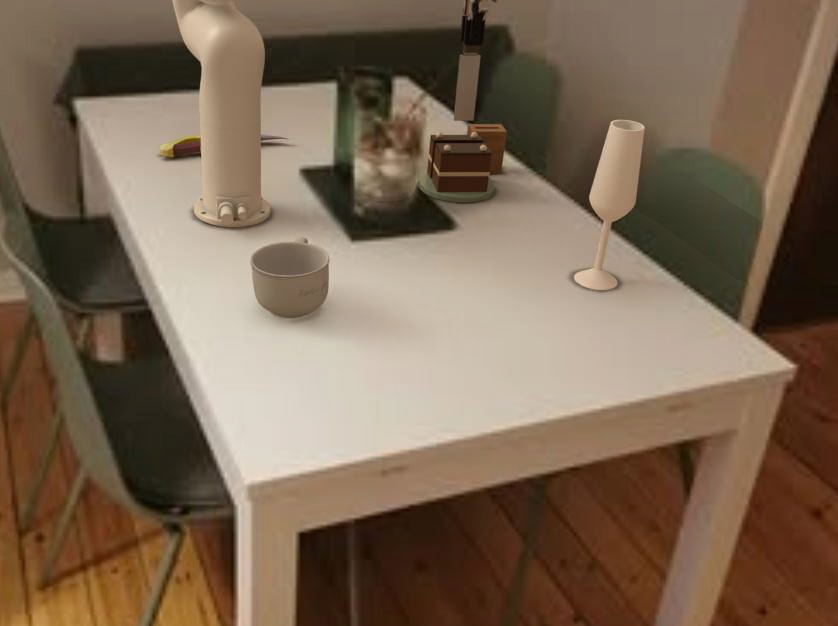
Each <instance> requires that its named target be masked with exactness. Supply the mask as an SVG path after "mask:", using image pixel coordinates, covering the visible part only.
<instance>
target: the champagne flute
mask: <svg viewBox="0 0 838 626" xmlns="http://www.w3.org/2000/svg"><path fill="white" fill-rule="evenodd" d="M644 136H645V125H644V124H642V123H640V122H638V121H636V120H635V121H634V120H630V119H615V120H612V121H610V123H609V127H608V131H607V134H606V137H605V141H604V144H603V148H602V151H601V153H600V157H599V161H598V165H597V168H596V171H595V175H594V178H593V182H592V185H591V189H590V192H589V195H588V198H589V199H588V201H589V203H590V207H591V208H592V209H593V211H594V212H595V214H596V215H597V216H598V217H599V218H600V219H601V220H602V221H603V222H602V228H601V233H600V237H599V243H598V247H597V252H596V257H595V262H594V267H592V268H588V269H584V270H580V271H578V272H576V273H575V274H574V276H573V279H574V281H575V282H576V283H577V284H578V285H580V286H582V287H584V288H586V289H589V290H595V291H596V290H597V291H607V290H611V289H614V288H616V287H617V285H618V284H619V283H618V280H617V279H616V277H614V276H613V275H612V274H610V273H609V272H607V271H606V270H605V269H603V267H604V262H605V256H606V251H607V248H608V247H607V246H608V242H609V237H610V234H611V233H610V232H611V229H612V228H611V227H612V223H614V222H616V221H618V220H620V219H622V218H623V217H625V216H626V215H628V214H629V213H630V212H631V211H632V210H633V209H634V208H635V206H636V202H637V193H638V187H639V179H640V178H639V177H640V169H641V160H642V154H643V153H642V152H643V144H644Z"/></svg>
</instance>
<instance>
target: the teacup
mask: <svg viewBox="0 0 838 626" xmlns="http://www.w3.org/2000/svg"><path fill="white" fill-rule="evenodd" d="M249 263H250V265H251V275H252V276H251V277H252V285H253V293H254V296H255V299H256V301H257V303H258V304H259V305H260V306H261V307H262V308H263V309H265V311H267V312H269V313H270V314H271V315H273V316H275V317H280V318H284V319H298V318H303V317H306V316H309V315H310V314H312V313H314V312H315V311H316V310H317V309H319V308H320V307H321V306H322V305H323V304H324V303H325V301H326V299H327V297H328V294H329V287H330V285H329V282H330V274H329V273H330V267H329V265H330V255H329V253H328V252H327V251H326V250H325V249H324V248H323V247H321V246H318V245H315V244H312V243H309V240H308V239H307V238H306V237H304V236H298V237H296V238H295V241H282V242H274V243H270V244H267V245H264V246H262V247H260V248H258V249H256V250H255V251H254V252H253V253H252V254H251V256H250V258H249Z"/></svg>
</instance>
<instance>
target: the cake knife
mask: <svg viewBox="0 0 838 626" xmlns="http://www.w3.org/2000/svg"><path fill="white" fill-rule="evenodd" d="M469 3H470V0H467V10H466V15H465V16H466V19H468V12H469ZM474 7H475V5H474ZM465 22H466V20H465ZM464 32H465V31H464ZM462 42H464V41H462ZM479 52H480V46H474V45H465V44H464V43H463V44H462V54H459V58H458V59H459V61H458V69H457V70H458V71H457V80H456V92H455V101H454V112H453V113H454V114H453V121H454V122H458V121H459V122H462V121H464V122H466V121H468V122H469V121H472V122H473V121H474V120H475V113H476V112H475V111H476V103H477V95H478V86H479V85H478V83H479V73H480V64H481V55H480V54H479Z"/></svg>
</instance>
